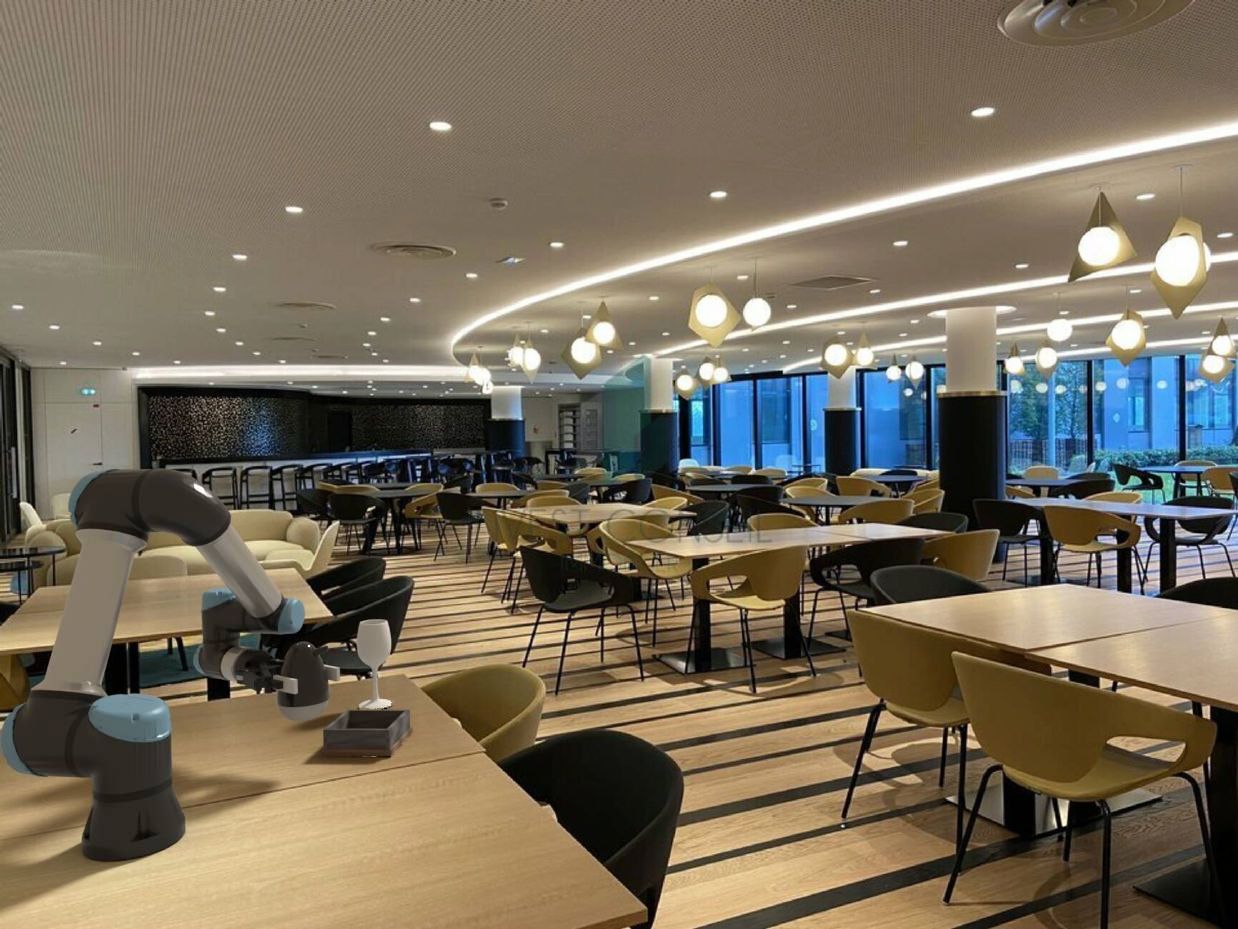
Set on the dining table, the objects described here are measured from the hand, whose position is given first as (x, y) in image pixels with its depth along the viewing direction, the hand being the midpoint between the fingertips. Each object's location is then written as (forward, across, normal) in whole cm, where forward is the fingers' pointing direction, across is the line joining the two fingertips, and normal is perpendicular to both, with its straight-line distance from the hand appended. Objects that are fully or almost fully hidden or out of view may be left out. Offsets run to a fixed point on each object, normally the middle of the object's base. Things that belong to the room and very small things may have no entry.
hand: (317, 680), depth 178 cm
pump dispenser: (-4, 0, -8) cm, 9 cm away
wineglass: (-25, -36, -19) cm, 48 cm away
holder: (-4, -16, -18) cm, 25 cm away
